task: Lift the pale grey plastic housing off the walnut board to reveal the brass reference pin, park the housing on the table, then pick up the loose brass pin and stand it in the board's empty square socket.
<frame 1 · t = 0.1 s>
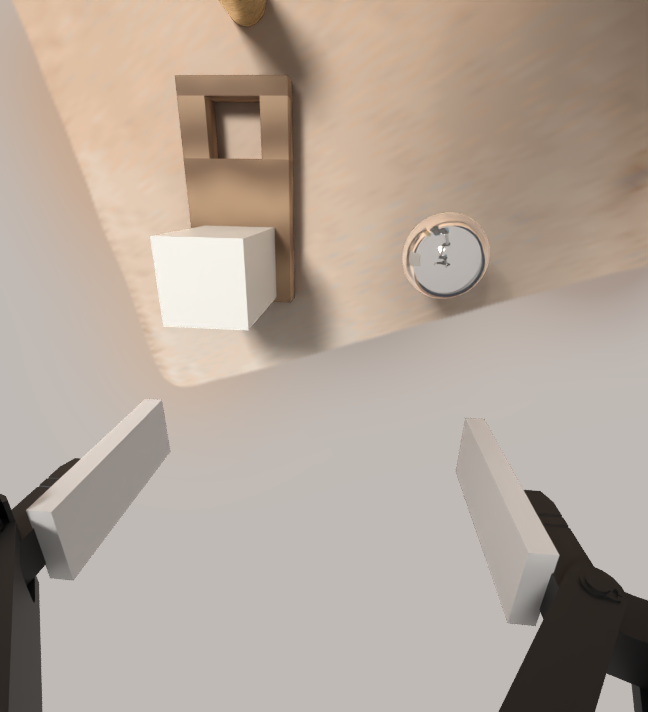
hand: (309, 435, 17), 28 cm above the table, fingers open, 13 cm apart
housing: (241, 262, 40), point 2 cm above the table, touching board
pin: (245, 0, 34), on the table
light bulb: (428, 244, 40), on the table
board: (245, 199, 40), on the table
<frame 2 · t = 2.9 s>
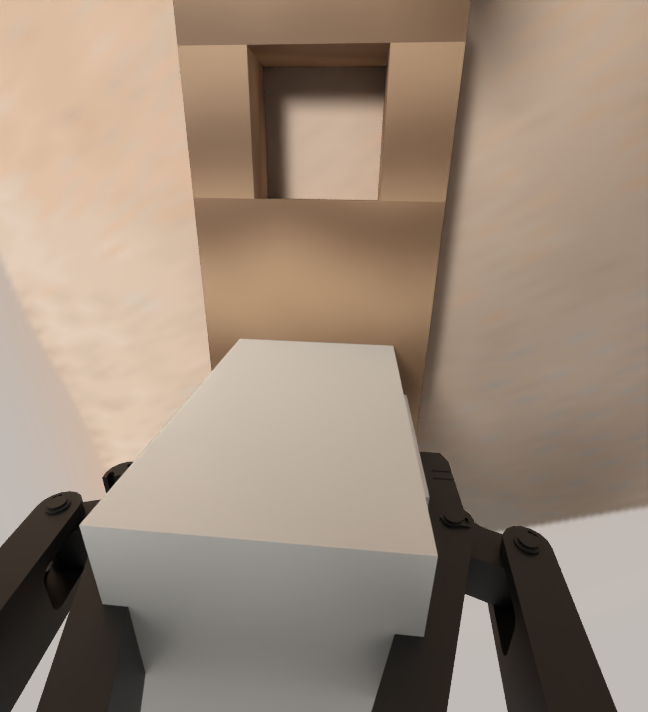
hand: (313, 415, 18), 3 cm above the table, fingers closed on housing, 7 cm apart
housing: (314, 409, 19), point 3 cm above the table, touching board, gripper
board: (321, 276, 19), on the table
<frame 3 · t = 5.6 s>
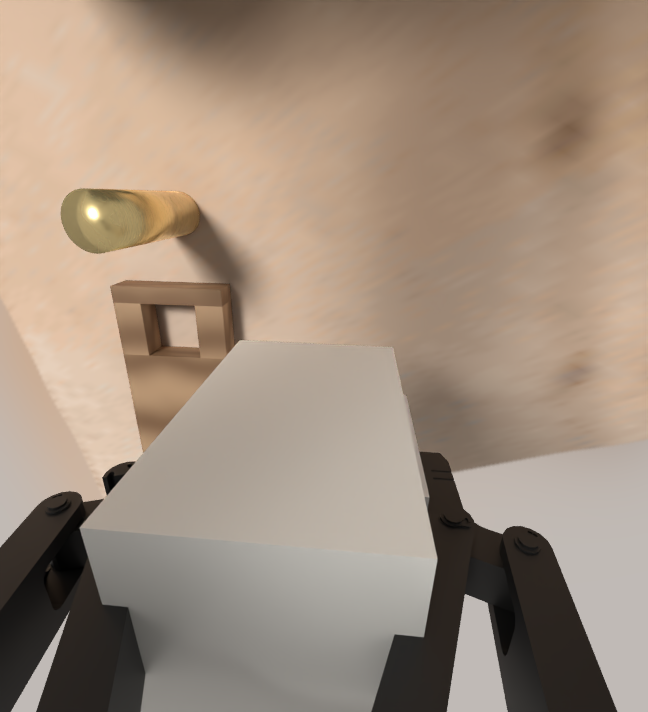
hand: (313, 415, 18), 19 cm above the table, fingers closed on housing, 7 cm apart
housing: (314, 410, 19), point 18 cm above the table, touching gripper
pin: (179, 213, 34), on the table
board: (190, 378, 40), on the table
when the fingers open (2 cm above the table, at t = 8.5 s): housing drops 1 cm, on the table.
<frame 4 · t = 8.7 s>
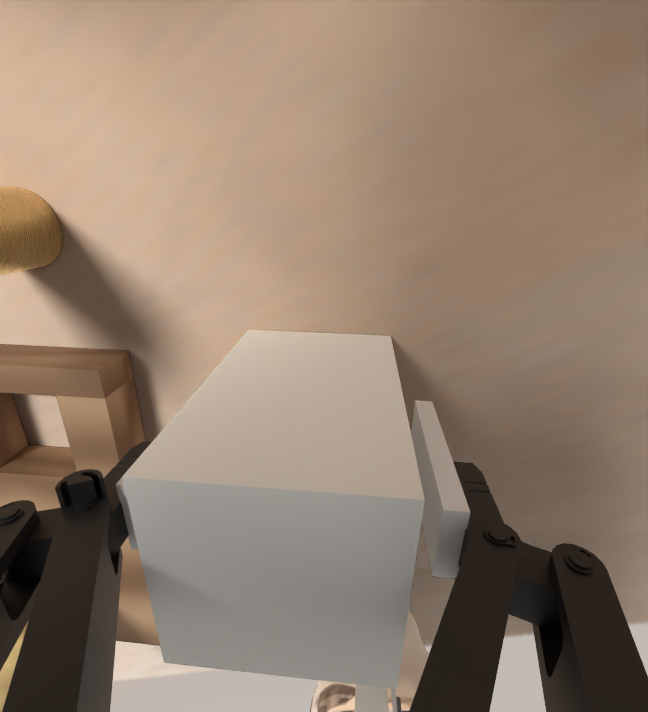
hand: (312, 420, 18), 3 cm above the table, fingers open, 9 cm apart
housing: (317, 395, 20), on the table
pin: (25, 228, 18), on the table
light bulb: (378, 563, 25), on the table
board: (80, 493, 24), on the table
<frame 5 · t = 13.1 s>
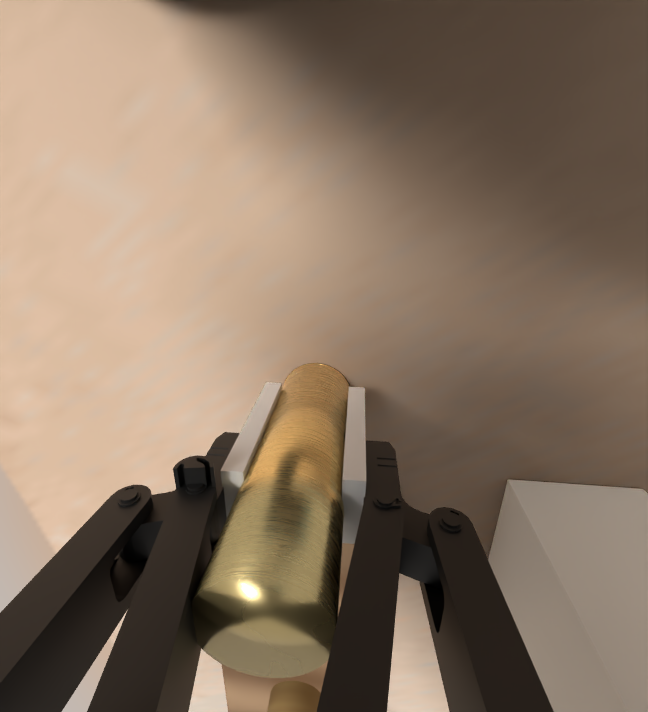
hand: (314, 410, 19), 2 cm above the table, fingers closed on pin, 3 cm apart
housing: (558, 532, 22), on the table
pin: (316, 394, 20), on the table, touching gripper
board: (301, 601, 26), on the table
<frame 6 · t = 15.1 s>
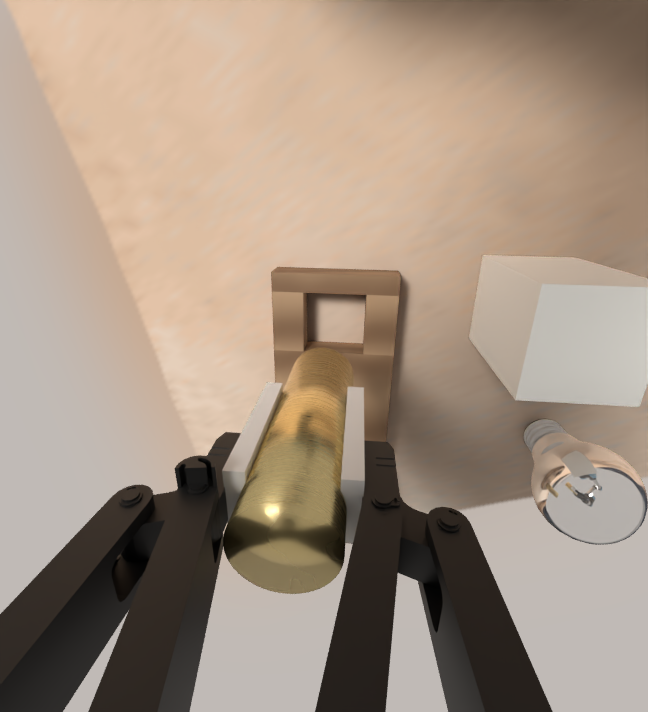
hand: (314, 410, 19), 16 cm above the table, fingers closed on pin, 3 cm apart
housing: (519, 299, 32), on the table
pin: (322, 376, 22), point 12 cm above the table, touching gripper
light bulb: (536, 426, 36), on the table
board: (334, 377, 36), on the table
when the fingers open (3 cm above the table, at t = 17.5 s): pin stays where it is, resting in board.
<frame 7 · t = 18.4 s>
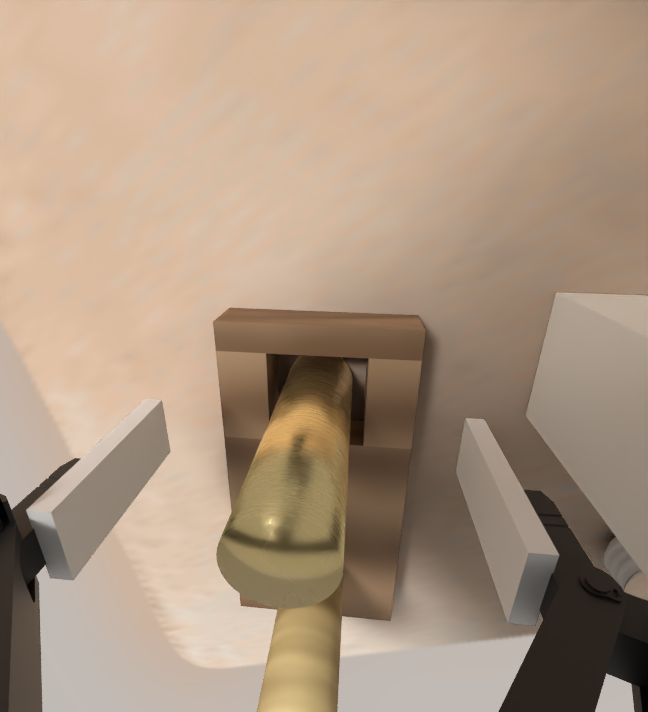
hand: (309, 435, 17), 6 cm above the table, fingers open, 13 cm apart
housing: (609, 361, 20), on the table
pin: (320, 379, 22), resting in board
light bulb: (618, 537, 24), on the table
board: (320, 466, 24), on the table
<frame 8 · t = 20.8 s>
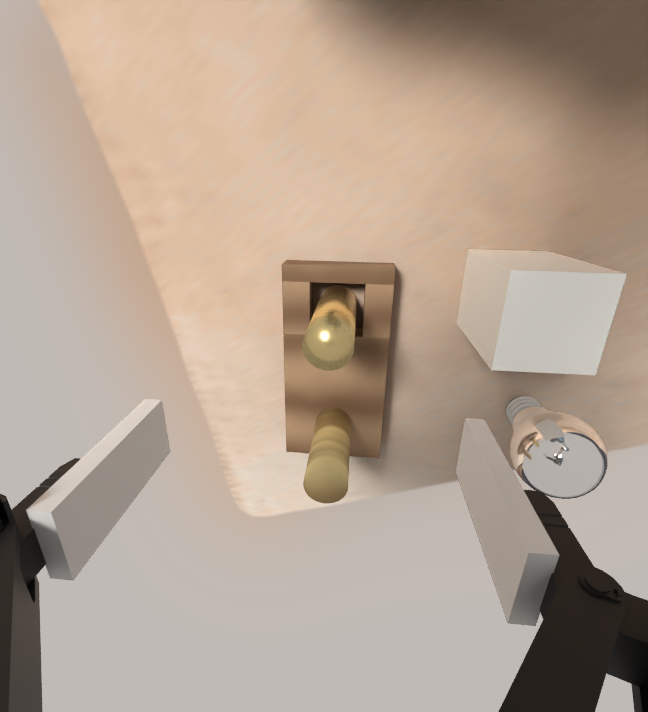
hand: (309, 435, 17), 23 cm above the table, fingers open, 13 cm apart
housing: (500, 288, 36), on the table
pin: (337, 303, 38), resting in board
light bulb: (517, 403, 40), on the table
board: (336, 359, 40), on the table
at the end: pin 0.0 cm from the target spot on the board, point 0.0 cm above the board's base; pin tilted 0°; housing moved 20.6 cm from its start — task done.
